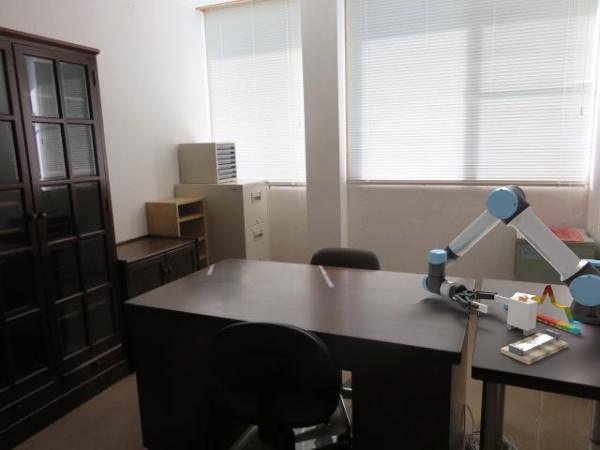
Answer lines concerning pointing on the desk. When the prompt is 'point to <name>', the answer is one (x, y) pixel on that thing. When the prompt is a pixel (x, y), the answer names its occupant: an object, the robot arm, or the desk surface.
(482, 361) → the desk surface
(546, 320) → the chart
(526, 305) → the breaker module
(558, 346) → the rail board
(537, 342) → the steel rail
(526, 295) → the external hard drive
